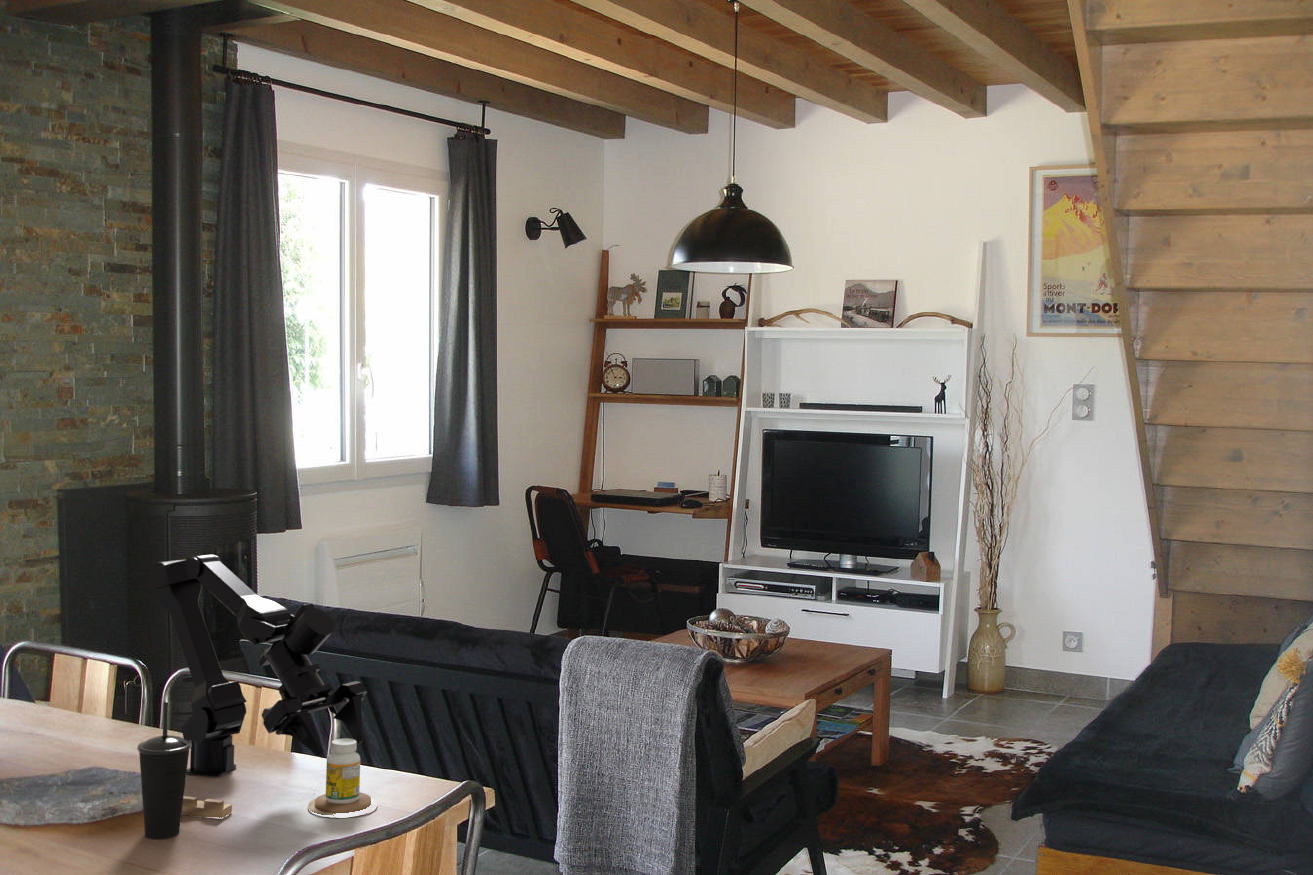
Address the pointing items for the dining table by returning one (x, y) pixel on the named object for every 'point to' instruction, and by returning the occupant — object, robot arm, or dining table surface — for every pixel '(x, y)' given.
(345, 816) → the dining table surface
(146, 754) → the drinking cup
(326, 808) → the base
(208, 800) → the notched board
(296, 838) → the dining table surface
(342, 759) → the supplement bottle
